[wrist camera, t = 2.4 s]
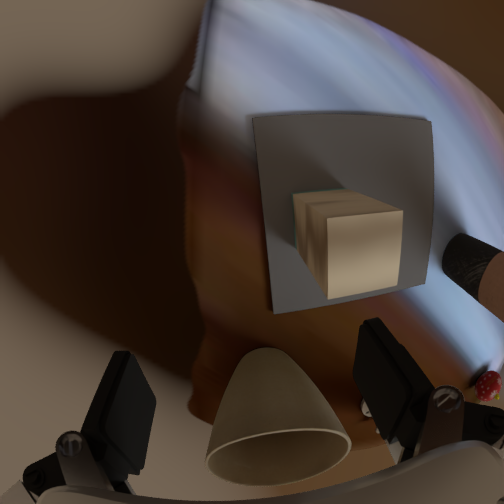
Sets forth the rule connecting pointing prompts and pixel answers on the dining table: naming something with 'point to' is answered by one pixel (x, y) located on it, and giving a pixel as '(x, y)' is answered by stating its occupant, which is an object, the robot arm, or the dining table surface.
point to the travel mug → (477, 271)
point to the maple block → (347, 240)
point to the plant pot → (273, 425)
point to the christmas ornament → (488, 386)
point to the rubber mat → (343, 176)
